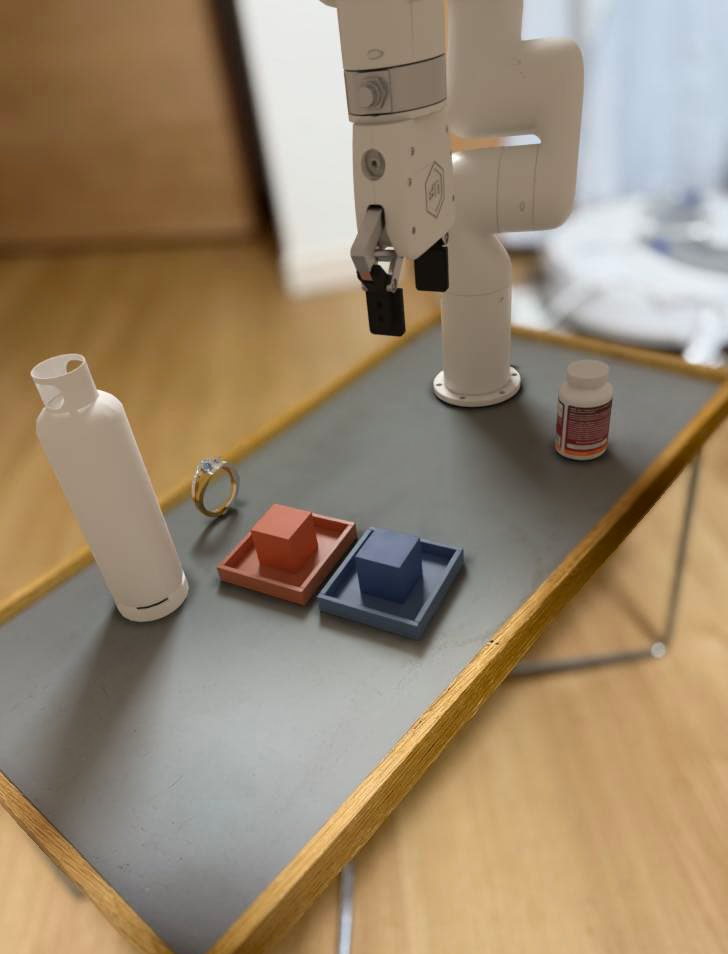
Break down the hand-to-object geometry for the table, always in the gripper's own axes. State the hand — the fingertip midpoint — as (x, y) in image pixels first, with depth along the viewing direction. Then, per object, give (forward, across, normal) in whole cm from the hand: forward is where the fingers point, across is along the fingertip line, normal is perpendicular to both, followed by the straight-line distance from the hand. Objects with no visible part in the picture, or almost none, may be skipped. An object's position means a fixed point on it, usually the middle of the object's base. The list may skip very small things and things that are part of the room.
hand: (411, 311), depth 63 cm
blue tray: (+26, -9, 0) cm, 28 cm away
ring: (+26, -5, +26) cm, 37 cm away
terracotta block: (+26, -9, +13) cm, 30 cm away
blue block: (+26, -9, 0) cm, 27 cm away
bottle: (+26, -20, +24) cm, 41 cm away
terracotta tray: (+26, -9, +13) cm, 31 cm away
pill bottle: (+26, +22, -12) cm, 36 cm away
